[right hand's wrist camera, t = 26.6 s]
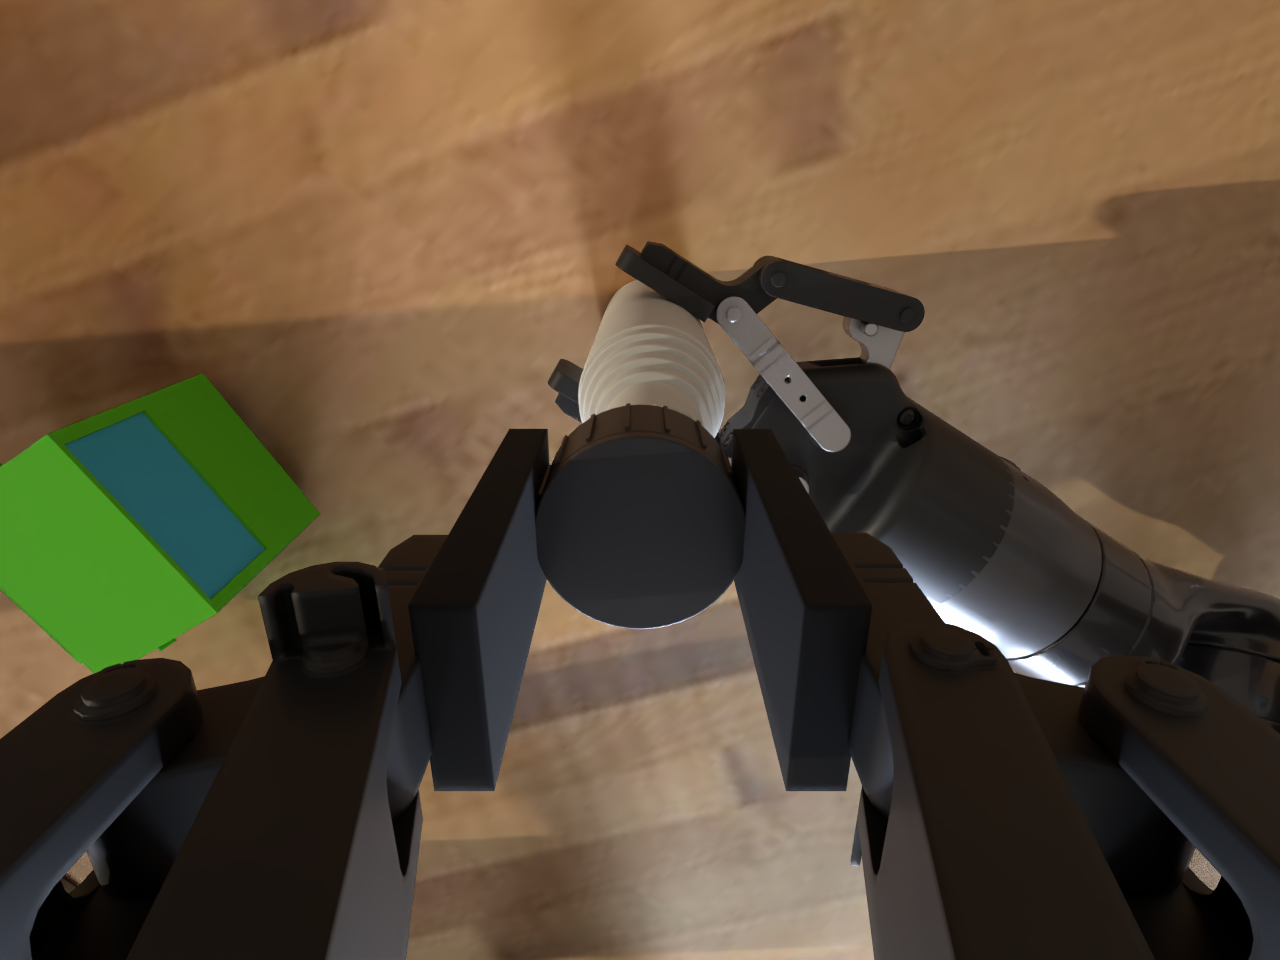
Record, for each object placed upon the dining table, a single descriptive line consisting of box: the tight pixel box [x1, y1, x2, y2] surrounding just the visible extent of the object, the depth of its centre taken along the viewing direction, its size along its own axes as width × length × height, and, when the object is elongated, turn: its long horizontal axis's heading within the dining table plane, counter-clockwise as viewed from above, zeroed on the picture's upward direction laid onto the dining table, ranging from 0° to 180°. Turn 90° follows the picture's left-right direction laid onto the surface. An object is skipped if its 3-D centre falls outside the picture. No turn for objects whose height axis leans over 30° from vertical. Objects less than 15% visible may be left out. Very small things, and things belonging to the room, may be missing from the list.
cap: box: [535, 403, 745, 629], centre depth 13 cm, size 4×4×2 cm
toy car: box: [0, 373, 320, 673], centre depth 31 cm, size 10×13×10 cm
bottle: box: [578, 280, 725, 438], centre depth 23 cm, size 4×4×18 cm
